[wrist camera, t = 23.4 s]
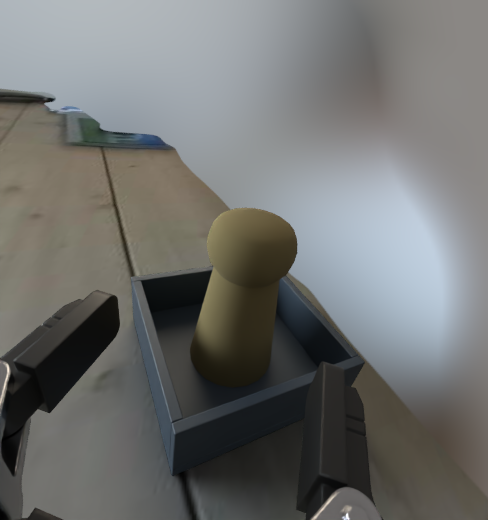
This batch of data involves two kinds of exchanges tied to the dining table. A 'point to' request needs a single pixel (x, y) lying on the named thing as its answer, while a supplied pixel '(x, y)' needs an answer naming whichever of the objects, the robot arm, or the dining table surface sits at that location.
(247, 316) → the cork
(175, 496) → the dining table surface
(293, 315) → the square tray
